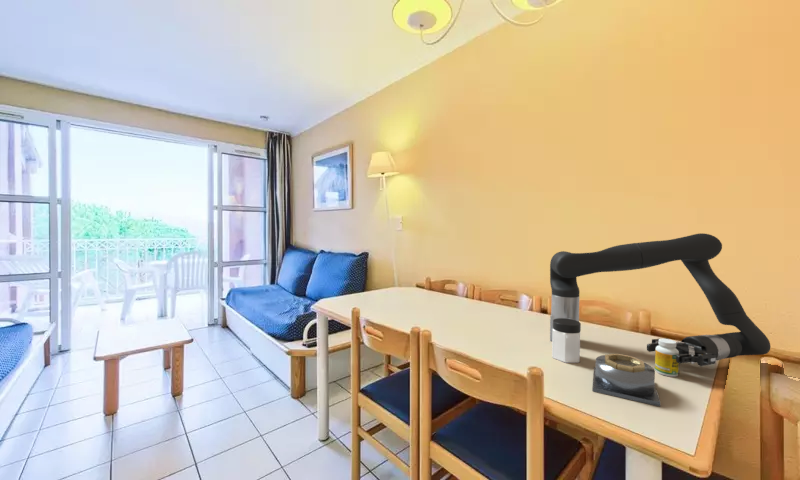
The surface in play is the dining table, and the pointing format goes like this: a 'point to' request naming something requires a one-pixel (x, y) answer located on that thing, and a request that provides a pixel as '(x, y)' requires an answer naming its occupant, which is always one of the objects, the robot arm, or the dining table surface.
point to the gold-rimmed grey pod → (625, 378)
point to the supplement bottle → (666, 358)
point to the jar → (566, 340)
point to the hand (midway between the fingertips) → (662, 353)
